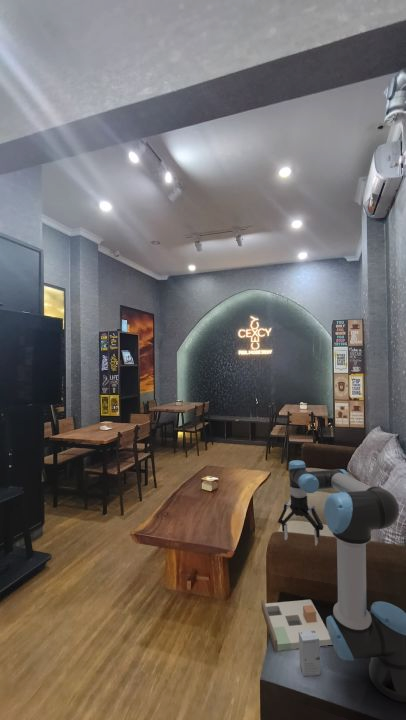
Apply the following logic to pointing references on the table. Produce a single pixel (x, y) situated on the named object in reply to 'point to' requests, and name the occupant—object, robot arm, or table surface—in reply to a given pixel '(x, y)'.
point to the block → (309, 613)
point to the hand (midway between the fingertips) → (301, 541)
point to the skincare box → (309, 653)
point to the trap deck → (291, 624)
